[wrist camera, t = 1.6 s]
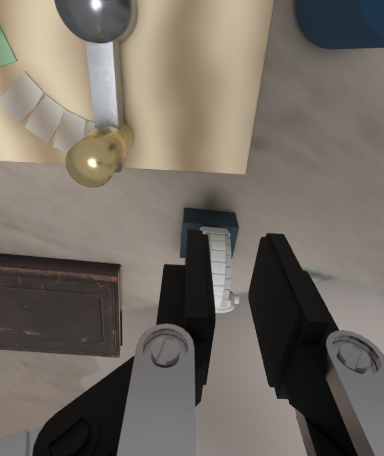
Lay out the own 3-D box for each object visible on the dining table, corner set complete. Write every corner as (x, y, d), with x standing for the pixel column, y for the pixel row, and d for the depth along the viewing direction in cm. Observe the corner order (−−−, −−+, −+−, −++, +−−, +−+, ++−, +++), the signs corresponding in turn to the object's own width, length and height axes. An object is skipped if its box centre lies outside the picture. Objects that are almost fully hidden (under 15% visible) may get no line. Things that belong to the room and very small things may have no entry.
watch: (179, 254, 34) (174, 331, 25) (185, 193, 30) (183, 256, 20) (225, 258, 34) (239, 336, 25) (238, 198, 30) (260, 263, 21)
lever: (71, -35, 19) (6, -82, 13) (136, -30, 20) (107, -74, 13) (95, 167, 27) (62, 205, 20) (142, 169, 27) (126, 209, 20)
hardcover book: (122, 344, 44) (119, 358, 42) (-36, 332, 42) (-47, 346, 40) (121, 261, 35) (117, 273, 33) (-76, 243, 34) (-92, 255, 32)
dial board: (308, -238, 16) (318, -262, 15) (243, 170, 29) (245, 175, 27) (-134, -286, 15) (-161, -315, 14) (-3, 155, 28) (-11, 160, 27)
